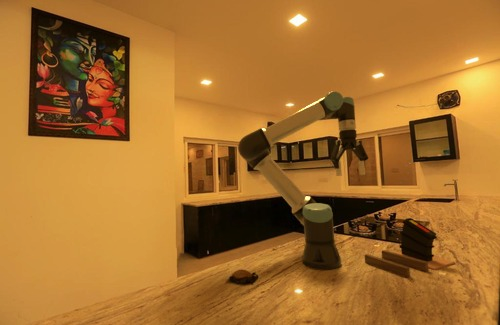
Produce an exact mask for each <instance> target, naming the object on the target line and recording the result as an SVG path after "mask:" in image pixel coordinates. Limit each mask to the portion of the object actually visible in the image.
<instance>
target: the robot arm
mask: <svg viewBox="0 0 500 325" xmlns="http://www.w3.org/2000/svg"><path fill="white" fill-rule="evenodd" d="M355 110H356V109H355V101H354V99H353V97H351V96H344V97H343V95H342V94H341V92H338V91H334V90H333V91H330V92H328V93H327V94H326V95H325V96H324V97H322V98H320V99H318V100H317V101H315V102H313V103H311V104H309V105H306V107H303V108H302V109H300V110H298V111H296V112H294V113H292V114H290V115H287V116H286V117H285V118H283V119H280V120H278V121H277V122H275V123H273V124H272V125H269V126H267V127H266V128H262V127H260V128H258V129H257V130H254V131H253V132H250V133H248V134H246V135H245V136H244V137H242V138H241V139H240V140H239V142H238V144H237V150H238V153H239V156H241V157H242V158H243V159H244V161H246V163H247V164H248V165H249V166H250V168H252V169H253V170H255V171H256V170H257V171H259V172H260V173H261V175H262V176H263V177H264V178H265V180H267V182H269V184H270V185H271V186H272V187H273V188H274V189H275V190H276V192H277V193H278V194H279V195H280V196H281V197H282V198H283V199H284V201H286V203H287V204H288V206H290V207H291V213H292V215H293V216H295V218H296V219H297V220H298V221H299V222H300V224H301V225H302V226H303V231H304V241H305V243H304V244H305V245H304V248H303V253H302V256H301V257H302V259H301V262H302V264H303V266H305V267H307V268H308V269H309V268H310V269H313V270H320V271H321V270H323V271H325V270H334V269H337V268H339V267H341V265H342V259H341V256H340V253H339V250H338V248H337V246H336V242H335V230H334V218H333V216H334V214H333V211H332V210H333V209H332V207H331V206H330V205H329V204H326V203H321V202H319V203H318V202H316V200H314V199H313V198H312V197H311V195H308V196H307V195H305V194H304V192H303V191H302V190H301V189H300V188H299V187H298V186H297V185H296V184H295V182H294V181H292V179H291V178H290V177H289V176H288V174H287V173H285V172H284V170H283V169H282V168H281V167H280V165H278V163H277V162H276V161H274V159H273V158H272V155H273V153H272V152H271V151H270V149H271V148H272V147H273V145H275V144H277V143H278V142H280V141H282V140H284V139H286V138H287V137H289V136H291V135H294V134H295V133H297V132H299V131H301V130H302V129H305V128H306V127H308V126H310V125H312V124H314V123H315V122H316V123H317V122H318V121H324V120H325V121H326V120H327V121H328V120H337V122H338V124H337V125H338V131H339V132H338V136H339V139H337V140H335V141H334V146H333V150H332V152H331V156H330V161H332V162H333V163H334V169H335V173H336V174H335V176H336V177H341V176H343V175H342V173H343V172H342V162H341V159H342V156H343V155H344V153H345V151H352V152H353V154H354V155H355V156H356V158H357V159H358V160H359V161H358V170H359V172H358V174H359V176H362V175H363V176H364V175H366V161H367V160H368V159H369V155H368V153H367V152H366V149H365V148H364V146H363V141H362V140H361V139H360V140H356V138H357V130H356V129H357V124H356V112H355Z"/></svg>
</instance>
